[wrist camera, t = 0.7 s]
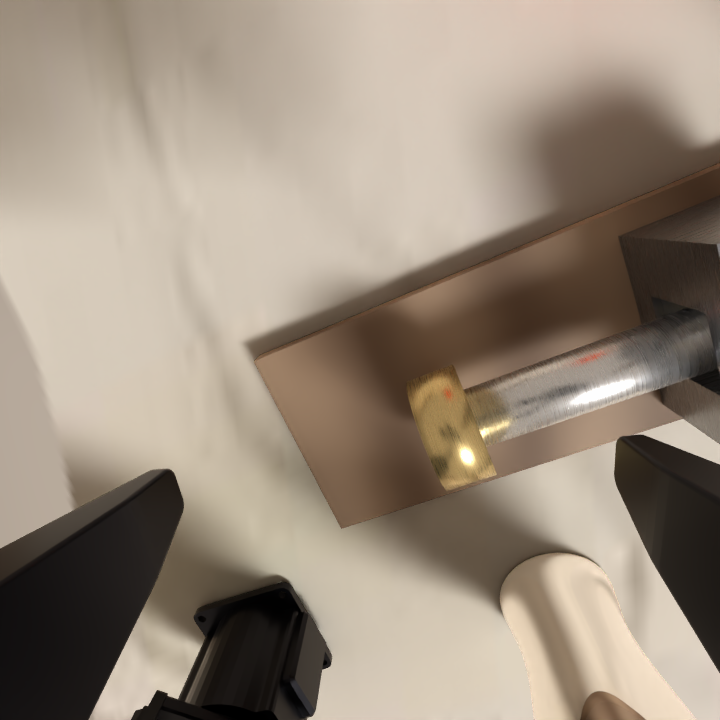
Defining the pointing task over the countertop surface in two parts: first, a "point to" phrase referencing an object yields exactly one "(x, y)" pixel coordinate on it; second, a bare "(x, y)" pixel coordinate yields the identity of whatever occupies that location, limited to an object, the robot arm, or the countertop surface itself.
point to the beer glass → (581, 645)
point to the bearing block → (682, 295)
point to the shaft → (552, 391)
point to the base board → (467, 358)
